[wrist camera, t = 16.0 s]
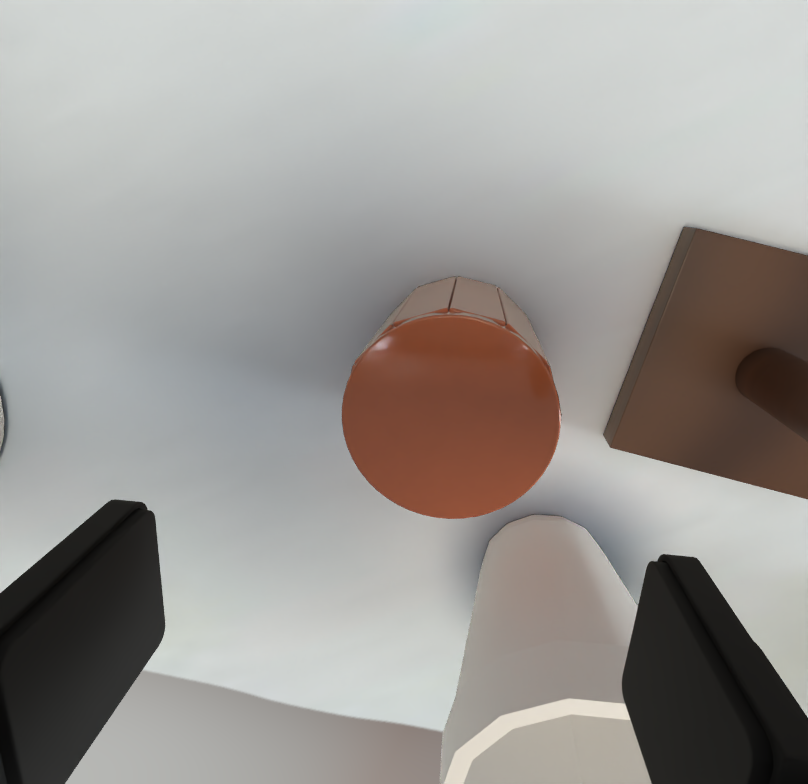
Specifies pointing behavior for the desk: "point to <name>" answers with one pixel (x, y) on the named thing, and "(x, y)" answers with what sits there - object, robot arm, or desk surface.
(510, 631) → the foam cup
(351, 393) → the cup
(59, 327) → the desk surface
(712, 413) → the holder
